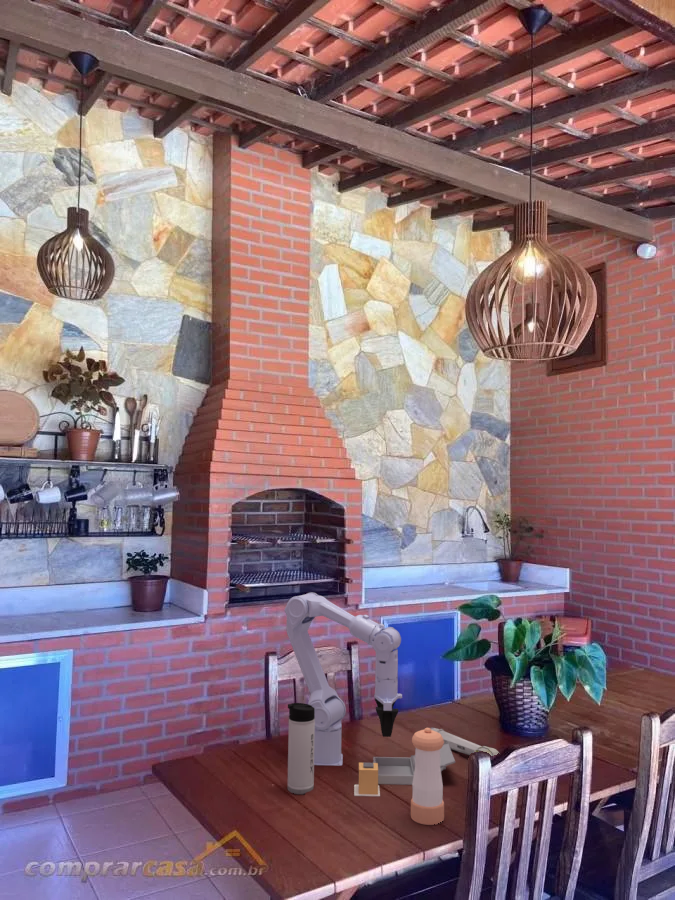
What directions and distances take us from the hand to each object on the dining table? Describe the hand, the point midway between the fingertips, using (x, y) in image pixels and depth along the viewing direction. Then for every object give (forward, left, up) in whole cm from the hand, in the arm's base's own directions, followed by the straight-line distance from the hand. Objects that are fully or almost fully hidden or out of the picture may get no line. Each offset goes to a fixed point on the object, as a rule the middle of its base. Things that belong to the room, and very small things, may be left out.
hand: (385, 731), depth 178 cm
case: (+7, -2, -10) cm, 13 cm away
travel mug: (-21, -11, -11) cm, 26 cm away
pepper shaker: (+8, -24, -11) cm, 27 cm away
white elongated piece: (+19, +12, -8) cm, 24 cm away
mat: (-5, -12, -10) cm, 17 cm away
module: (-5, -12, -10) cm, 16 cm away
